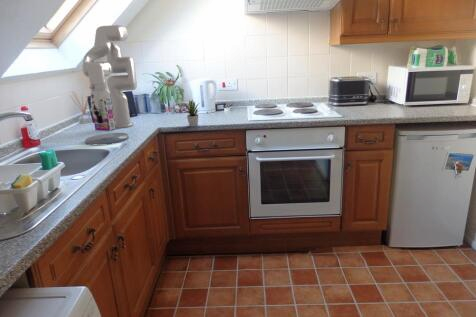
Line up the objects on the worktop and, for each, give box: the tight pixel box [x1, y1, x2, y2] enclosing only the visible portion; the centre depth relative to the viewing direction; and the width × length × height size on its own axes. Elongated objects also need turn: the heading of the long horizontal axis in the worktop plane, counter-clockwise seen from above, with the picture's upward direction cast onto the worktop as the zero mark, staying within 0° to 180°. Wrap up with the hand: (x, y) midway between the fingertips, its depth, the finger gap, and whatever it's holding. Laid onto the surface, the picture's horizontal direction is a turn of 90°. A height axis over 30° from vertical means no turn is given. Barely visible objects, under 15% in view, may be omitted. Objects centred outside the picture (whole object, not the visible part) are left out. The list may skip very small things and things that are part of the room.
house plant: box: [182, 99, 200, 127], centre depth 216 cm, size 14×14×16 cm
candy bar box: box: [90, 99, 117, 132], centre depth 188 cm, size 11×5×16 cm, turn 62°
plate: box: [85, 132, 130, 145], centre depth 192 cm, size 22×22×2 cm
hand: (104, 121), depth 189 cm, fingers closed on candy bar box, 5 cm apart
